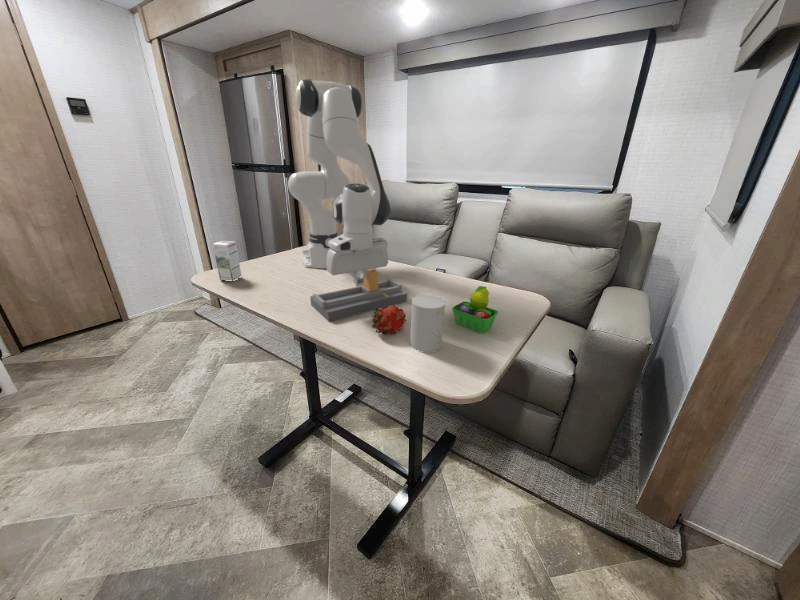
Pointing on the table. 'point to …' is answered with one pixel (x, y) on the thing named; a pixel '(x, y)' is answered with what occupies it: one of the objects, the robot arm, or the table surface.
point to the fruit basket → (475, 311)
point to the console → (357, 300)
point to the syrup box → (227, 260)
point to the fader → (370, 281)
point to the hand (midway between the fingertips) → (359, 283)
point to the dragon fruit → (388, 319)
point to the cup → (427, 323)
